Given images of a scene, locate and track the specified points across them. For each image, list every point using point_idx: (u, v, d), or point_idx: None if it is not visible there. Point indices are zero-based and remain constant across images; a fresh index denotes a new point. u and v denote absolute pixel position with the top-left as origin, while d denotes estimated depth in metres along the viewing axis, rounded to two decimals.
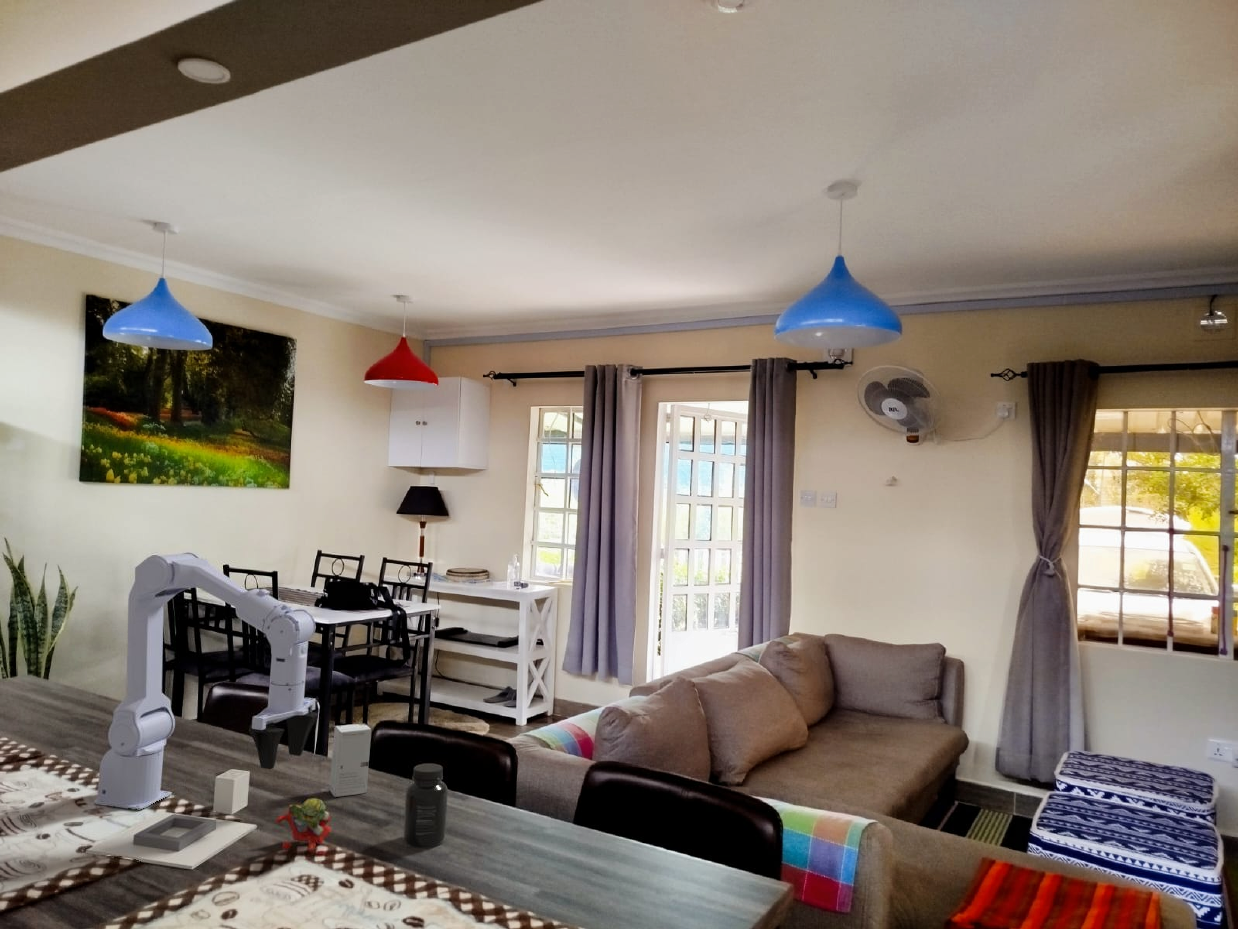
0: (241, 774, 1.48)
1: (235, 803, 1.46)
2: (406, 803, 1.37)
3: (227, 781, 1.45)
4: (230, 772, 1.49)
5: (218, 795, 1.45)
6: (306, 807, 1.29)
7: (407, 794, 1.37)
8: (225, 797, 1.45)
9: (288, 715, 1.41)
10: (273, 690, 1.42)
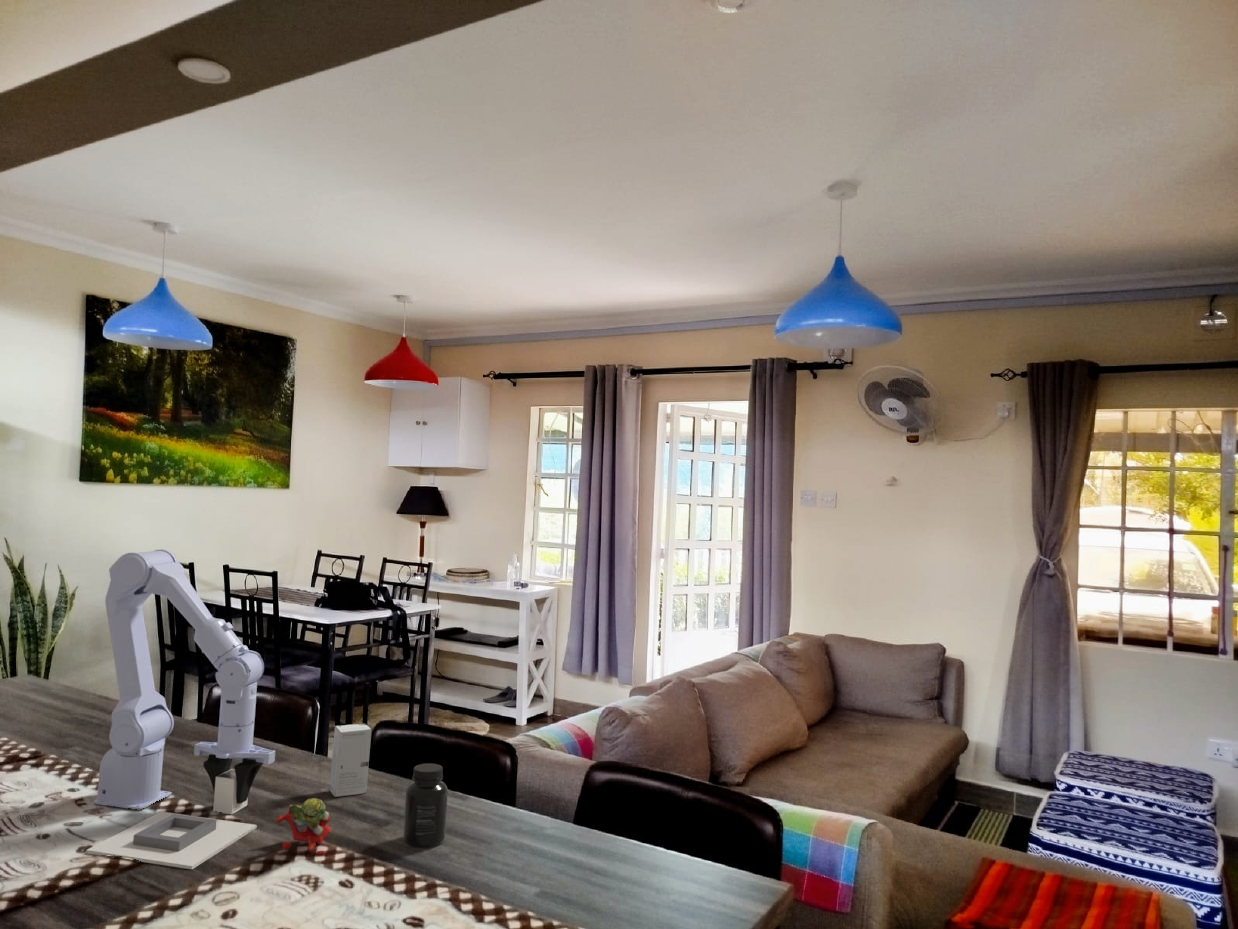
0: None
1: (235, 802, 1.46)
2: (406, 803, 1.37)
3: (227, 781, 1.45)
4: (230, 771, 1.49)
5: (218, 795, 1.45)
6: (306, 806, 1.29)
7: (407, 794, 1.37)
8: (225, 796, 1.45)
9: (213, 752, 1.46)
10: None
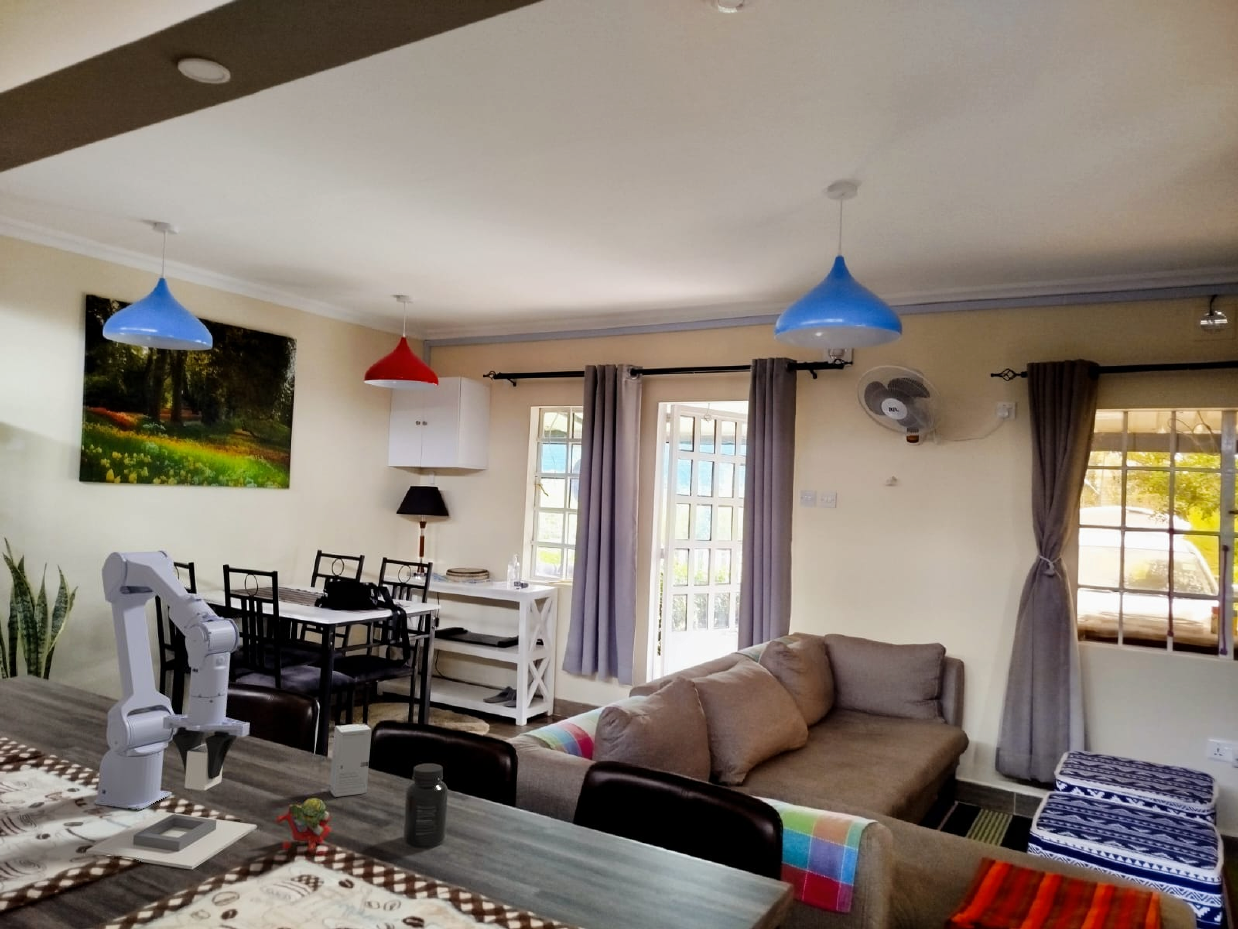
0: None
1: None
2: (406, 803, 1.37)
3: (199, 755, 1.37)
4: (203, 746, 1.41)
5: (190, 770, 1.38)
6: (306, 806, 1.29)
7: (407, 794, 1.37)
8: (197, 772, 1.37)
9: (183, 725, 1.37)
10: None
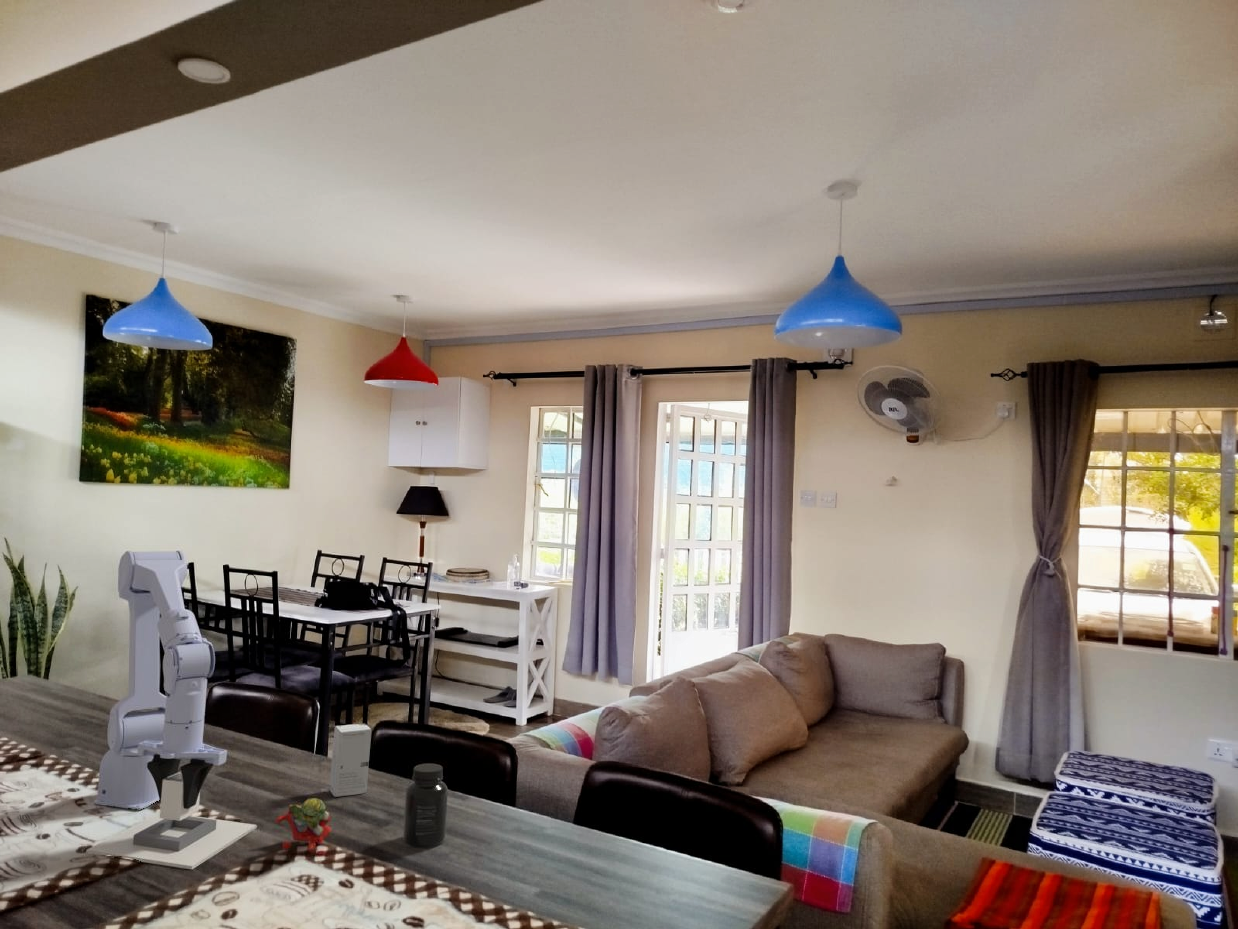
0: None
1: (184, 808, 1.32)
2: (406, 803, 1.37)
3: (175, 784, 1.32)
4: (179, 774, 1.35)
5: (165, 799, 1.32)
6: (306, 806, 1.29)
7: (407, 794, 1.37)
8: (173, 801, 1.32)
9: (158, 752, 1.32)
10: None
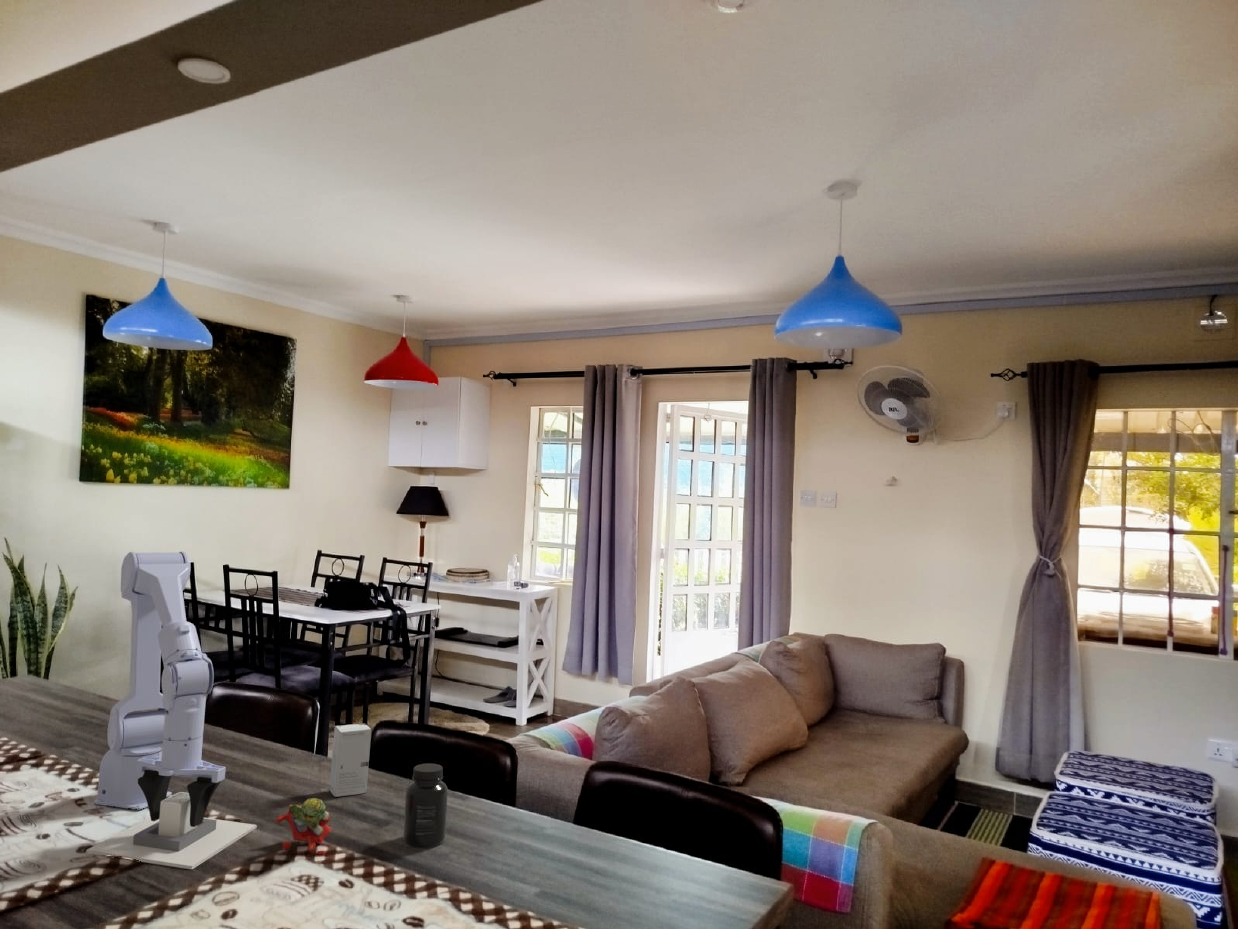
0: (189, 798, 1.34)
1: (182, 830, 1.32)
2: (406, 803, 1.37)
3: (173, 806, 1.32)
4: (177, 795, 1.35)
5: (163, 821, 1.32)
6: (306, 806, 1.29)
7: (407, 794, 1.37)
8: (171, 823, 1.32)
9: (157, 769, 1.32)
10: None
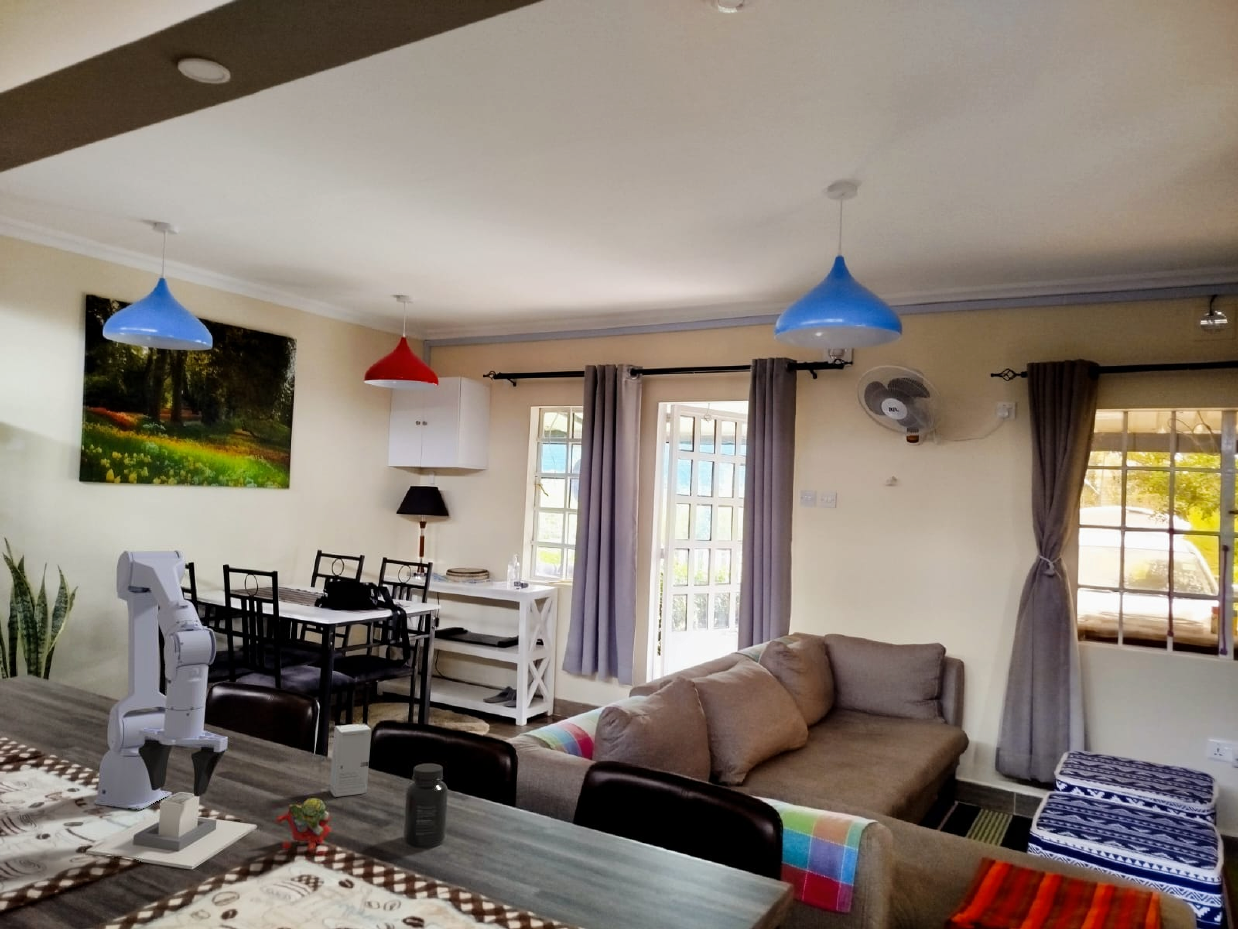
0: (189, 798, 1.34)
1: (182, 830, 1.32)
2: (406, 803, 1.37)
3: (173, 806, 1.32)
4: (177, 795, 1.35)
5: (163, 821, 1.32)
6: (306, 806, 1.29)
7: (407, 794, 1.37)
8: (171, 823, 1.32)
9: (159, 739, 1.32)
10: None
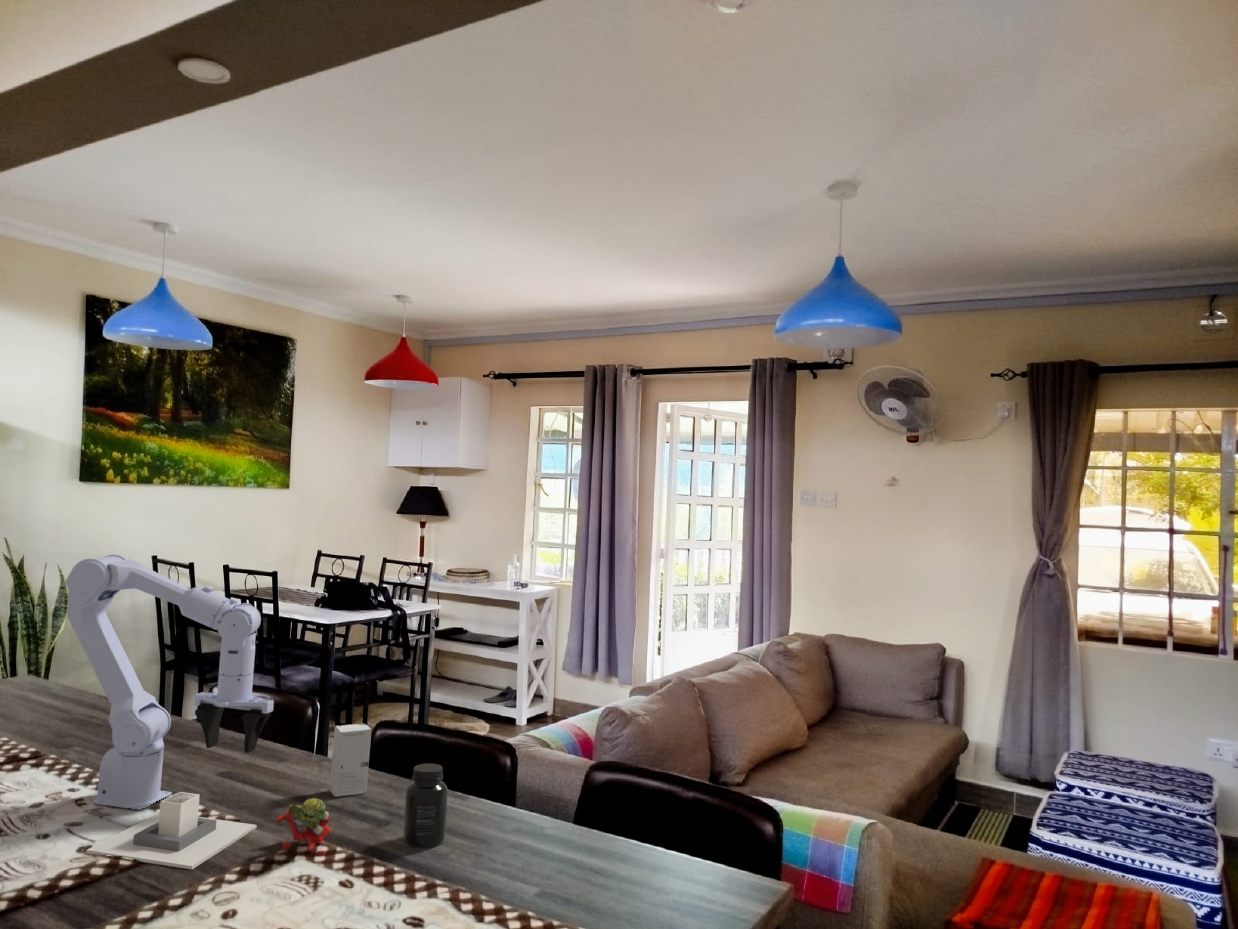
0: (189, 798, 1.34)
1: (182, 830, 1.32)
2: (406, 803, 1.37)
3: (173, 806, 1.32)
4: (177, 795, 1.35)
5: (163, 821, 1.32)
6: (306, 806, 1.29)
7: (407, 794, 1.37)
8: (171, 823, 1.32)
9: (213, 701, 1.49)
10: None
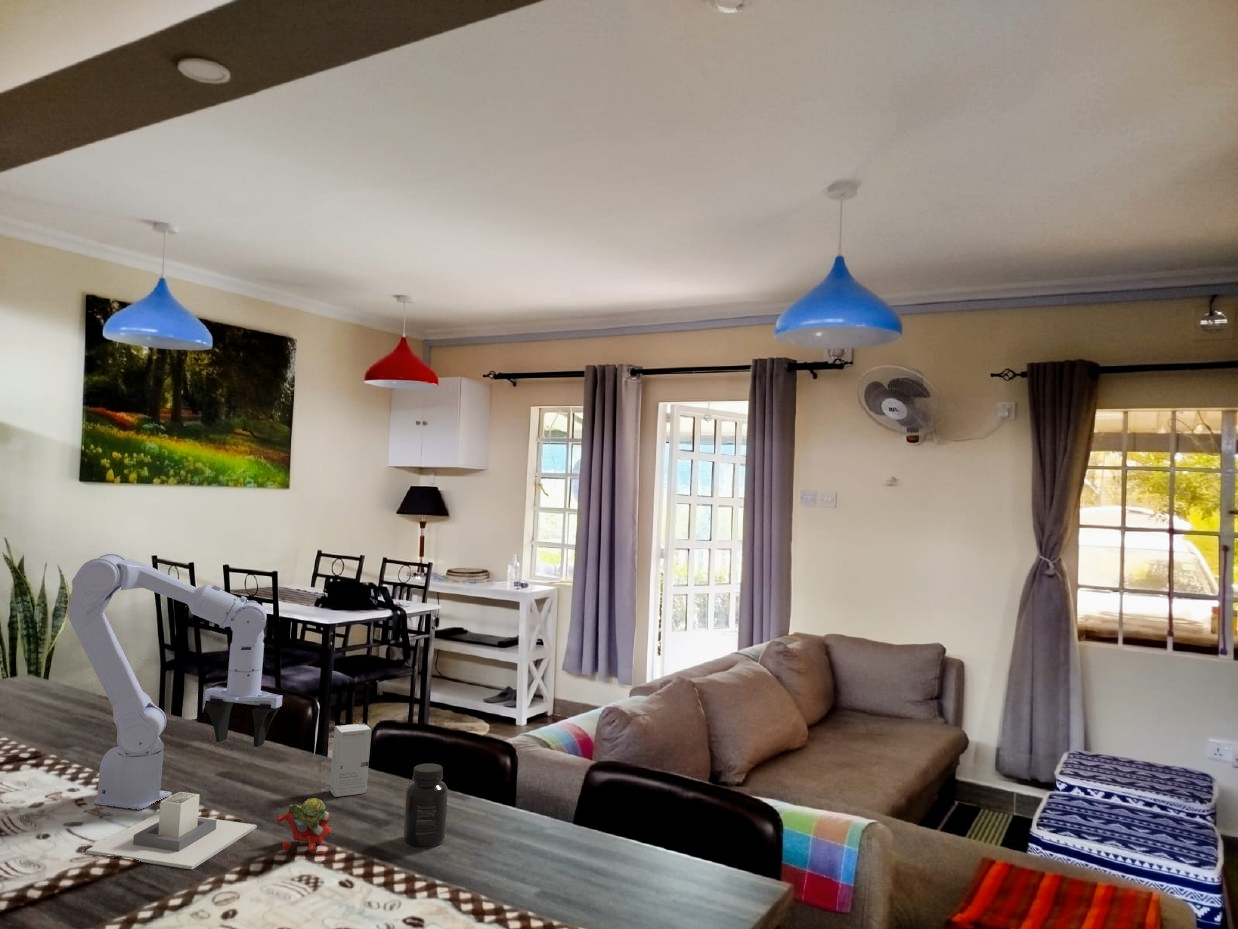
0: (189, 798, 1.34)
1: (182, 830, 1.32)
2: (406, 803, 1.37)
3: (173, 806, 1.32)
4: (177, 795, 1.35)
5: (163, 821, 1.32)
6: (306, 806, 1.29)
7: (407, 794, 1.37)
8: (171, 823, 1.32)
9: (223, 697, 1.52)
10: None
